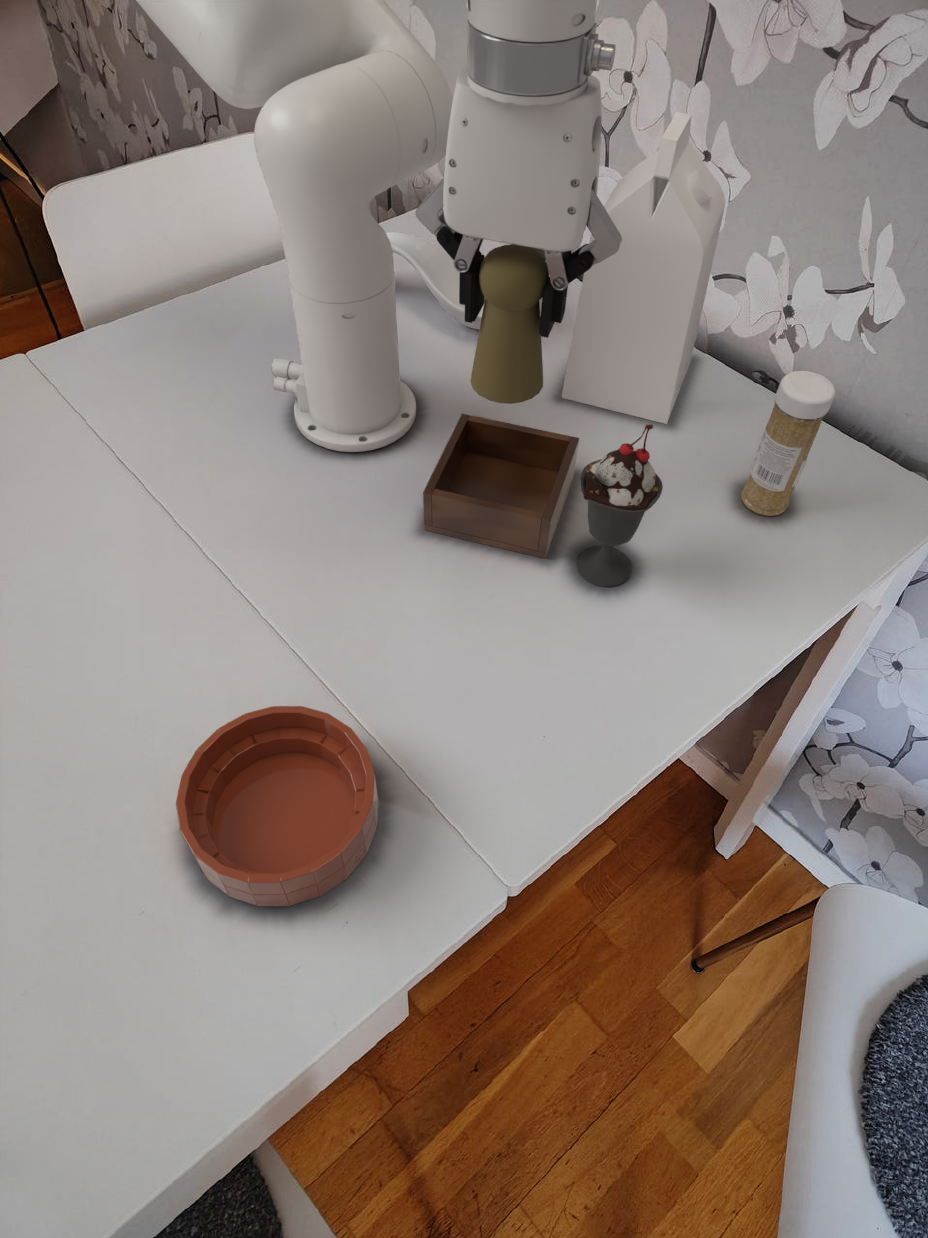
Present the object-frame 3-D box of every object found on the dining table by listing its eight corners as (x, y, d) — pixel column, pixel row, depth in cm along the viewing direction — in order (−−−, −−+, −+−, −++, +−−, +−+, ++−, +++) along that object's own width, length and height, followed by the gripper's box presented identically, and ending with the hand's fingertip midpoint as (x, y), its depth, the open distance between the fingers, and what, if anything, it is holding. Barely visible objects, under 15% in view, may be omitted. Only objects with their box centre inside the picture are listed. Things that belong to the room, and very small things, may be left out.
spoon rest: (548, 301, 105) (554, 244, 99) (518, 355, 98) (522, 297, 92) (369, 262, 110) (365, 205, 104) (328, 311, 103) (321, 253, 97)
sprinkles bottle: (797, 506, 83) (848, 389, 73) (763, 524, 82) (810, 408, 71) (762, 478, 86) (807, 362, 75) (729, 495, 84) (769, 379, 73)
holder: (424, 530, 80) (422, 492, 77) (461, 451, 87) (461, 412, 84) (545, 559, 78) (550, 521, 75) (573, 475, 85) (579, 437, 82)
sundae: (647, 549, 79) (682, 417, 68) (632, 602, 75) (665, 472, 64) (577, 531, 81) (599, 399, 69) (558, 582, 77) (578, 451, 65)
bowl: (157, 875, 60) (139, 848, 56) (243, 718, 68) (232, 686, 64) (336, 933, 57) (329, 908, 54) (403, 764, 65) (401, 733, 62)
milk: (592, 337, 100) (629, 89, 80) (691, 360, 98) (755, 110, 77) (561, 397, 93) (593, 142, 73) (666, 424, 91) (730, 167, 70)
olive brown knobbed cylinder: (467, 359, 73) (470, 233, 65) (538, 357, 74) (550, 231, 65) (473, 405, 70) (477, 277, 61) (548, 402, 70) (562, 275, 61)
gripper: (677, 51, 54) (628, 314, 68) (416, 17, 57) (422, 276, 71) (657, 99, 49) (609, 369, 64) (375, 58, 52) (390, 326, 67)
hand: (511, 317), depth 67 cm, fingers closed on olive brown knobbed cylinder, 5 cm apart
